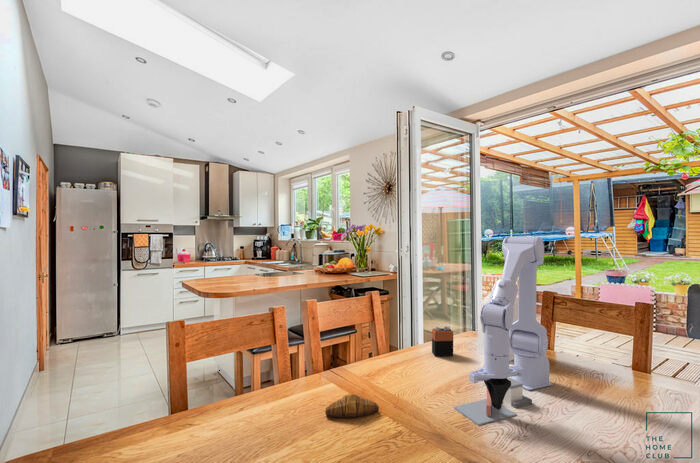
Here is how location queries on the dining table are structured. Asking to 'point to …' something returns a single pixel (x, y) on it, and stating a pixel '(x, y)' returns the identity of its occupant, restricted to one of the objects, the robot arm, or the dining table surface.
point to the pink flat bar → (488, 404)
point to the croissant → (351, 407)
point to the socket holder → (521, 402)
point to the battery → (442, 341)
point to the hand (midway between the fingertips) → (496, 407)
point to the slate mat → (483, 412)
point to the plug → (514, 391)
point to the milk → (480, 333)
